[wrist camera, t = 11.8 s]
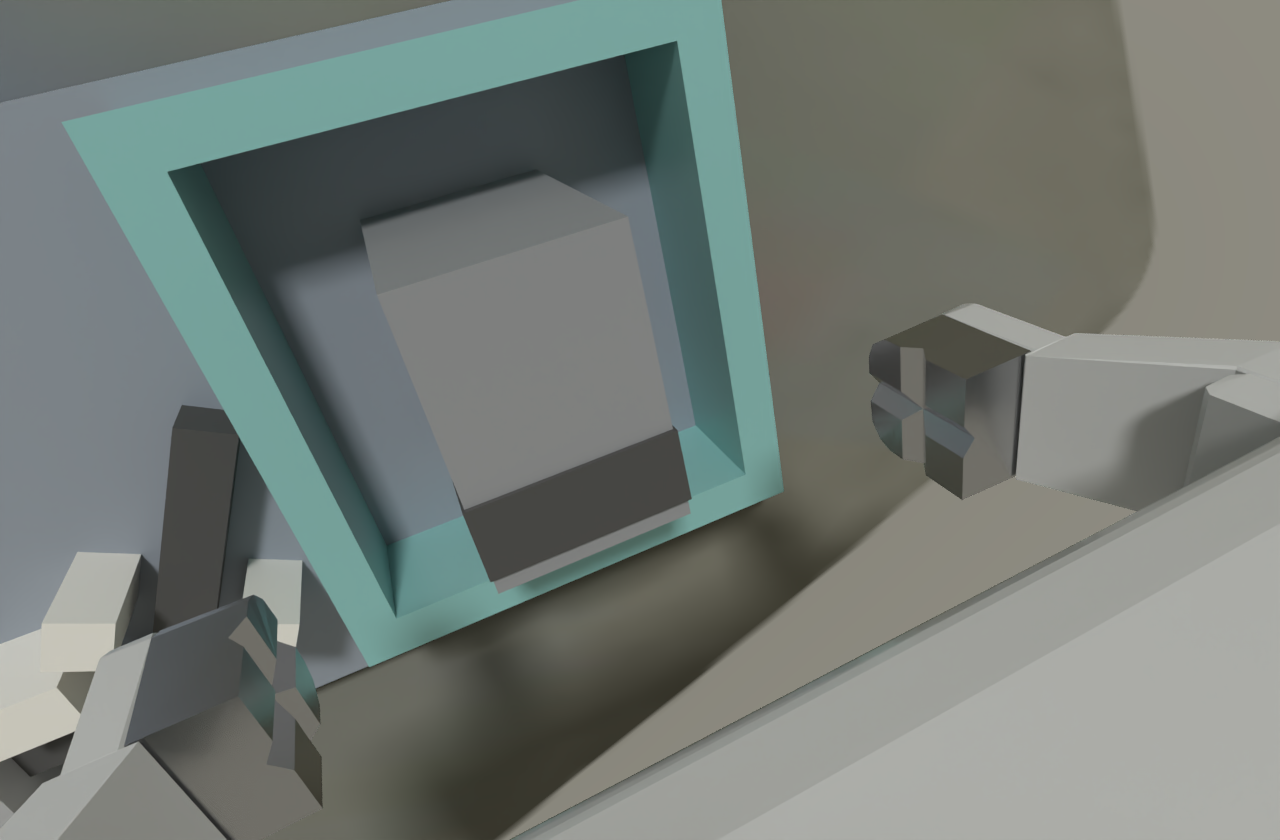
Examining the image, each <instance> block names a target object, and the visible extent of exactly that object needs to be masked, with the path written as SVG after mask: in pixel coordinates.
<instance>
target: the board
mask: <svg viewBox="0 0 1280 840" xmlns="http://www.w3.org/2000/svg"><path fill="white" fill-rule="evenodd" d="M573 1H577V0H452V1H447V2H443V3H438V4H434V5H430V6H425V7H421V8H416V9H412V10H408V11H403V12H399V13H394V14H390V15H385V16H381V17H377V18H372V19H368V20H363V21H359V22H355V23H350V24H346V25H341V26H337V27H332V28H328V29H324V30H319V31H315V32H310V33H306V34H301V35H297V36H293V37H288V38H284V39H279V40H275V41H271V42H266V43H262V44H257V45H253V46H248V47H244V48H240V49H235V50H231V51H226V52H222V53H218V54H213V55H209V56H204V57H200V58H195V59H191V60H187V61H182V62H178V63H173V64H169V65H165V66H160V67H156V68H151V69H147V70H142V71H138V72H134V73H129V74H125V75H120V76H116V77H112V78H107V79H103V80H98V81H94V82H89V83H85V84H81V85H76V86H72V87H67V88H63V89H59V90H54V91H50V92H45V93H41V94H36V95H32V96H28V97H23V98H19V99H14V100H10V101H5V102H1V103H0V828H1V827H2V826H3V825H4V824H5V823H6V822H7V821H8V820H9V819H10V818H11V817H12V816H13V814H14V813H15V812H16V811H17V810H18V809H19V808H20V807H21V806H22V805H23V804H24V803H25V802H26V801H27V799H28V798H29V797H30V796H31V795H32V794H33V793H34V792H35V791H36V790H37V789H38V788H39V787H40V785H41V784H42V783H44V782H47V781H49V780H51V779H53V778H56V777H58V776H60V774H61V771H62V768H63V765H64V763H63V764H61V765H58V766H56V767H53V768H51V769H49V770H46V771H44V772H41V773H39V774H37V775H34V776H32V777H30V776H29V775H28V774H27V773H26V772H25V771H24V770H23V769H22V768H21V767H20V766H19V765H18V764H17V763H16V762H15V761H14V760H13V759H12V758H11V757H13V756H16V755H18V754H21V753H23V752H25V751H28V750H30V749H33V748H35V747H38V746H40V745H43V744H45V743H48V742H50V741H53V740H55V739H57V738H60V737H62V736H65V735H67V734H70V733H72V732H75V730H76V727H77V724H78V721H79V718H80V715H81V712H82V709H83V706H84V703H85V700H86V697H87V694H88V691H89V688H90V685H91V682H92V679H93V677H94V674H95V671H96V668H97V665H98V662H99V660H100V658H101V657H103V656H104V655H105V654H107V653H108V652H109V651H111V650H113V649H116V648H118V647H120V646H123V645H125V644H128V643H130V642H132V641H135V640H137V639H140V638H142V637H144V636H147V635H149V634H152V633H153V624H154V614H155V603H156V593H157V582H158V572H159V561H160V551H161V541H162V530H163V520H164V509H165V499H166V488H167V478H168V467H169V457H170V446H171V436H172V427H173V425H174V423H175V420H176V418H177V415H178V413H179V410H180V408H181V406H182V405H187V406H196V407H204V408H213V409H221V410H224V409H223V407H222V406H221V404H220V402H219V400H218V399H217V397H216V395H215V393H214V391H213V390H212V388H211V386H210V384H209V383H208V381H207V379H206V377H205V376H204V374H203V372H202V370H201V368H200V367H199V365H198V363H197V361H196V360H195V358H194V356H193V354H192V353H191V351H190V349H189V347H188V345H187V344H186V342H185V340H184V338H183V337H182V335H181V333H180V331H179V330H178V328H177V326H176V324H175V322H174V321H173V319H172V317H171V315H170V314H169V312H168V310H167V308H166V306H165V305H164V303H163V301H162V299H161V298H160V296H159V294H158V292H157V291H156V289H155V287H154V285H153V283H152V282H151V280H150V278H149V276H148V275H147V273H146V271H145V269H144V268H143V266H142V264H141V262H140V260H139V259H138V257H137V255H136V253H135V252H134V250H133V248H132V246H131V245H130V243H129V241H128V239H127V237H126V236H125V234H124V232H123V230H122V229H121V227H120V225H119V223H118V222H117V220H116V218H115V216H114V214H113V213H112V211H111V209H110V207H109V206H108V204H107V202H106V200H105V199H104V197H103V195H102V193H101V191H100V190H99V188H98V186H97V184H96V183H95V181H94V179H93V177H92V176H91V174H90V172H89V170H88V168H87V167H86V165H85V163H84V161H83V160H82V158H81V156H80V154H79V152H78V151H77V149H76V147H75V145H74V144H73V142H72V140H71V138H70V137H69V135H68V133H67V131H66V129H65V128H64V126H63V124H62V122H64V121H68V120H72V119H76V118H81V117H85V116H89V115H93V114H98V113H102V112H106V111H110V110H115V109H119V108H123V107H127V106H132V105H136V104H140V103H144V102H149V101H153V100H157V99H161V98H166V97H170V96H174V95H178V94H183V93H187V92H191V91H195V90H200V89H204V88H208V87H212V86H217V85H221V84H225V83H229V82H234V81H238V80H242V79H246V78H250V77H255V76H259V75H263V74H267V73H272V72H276V71H280V70H284V69H289V68H293V67H297V66H301V65H306V64H310V63H314V62H318V61H323V60H327V59H331V58H335V57H340V56H344V55H348V54H352V53H357V52H361V51H365V50H369V49H374V48H378V47H382V46H386V45H391V44H395V43H399V42H403V41H408V40H412V39H416V38H420V37H425V36H429V35H433V34H437V33H441V32H446V31H450V30H454V29H458V28H463V27H467V26H471V25H475V24H480V23H484V22H488V21H492V20H497V19H501V18H505V17H509V16H514V15H518V14H522V13H526V12H531V11H535V10H539V9H543V8H548V7H552V6H556V5H560V4H565V3H569V2H573ZM200 164H201V166H202V168H203V170H204V172H205V174H206V176H207V178H208V180H209V182H210V184H211V187H212V189H213V191H214V193H215V195H216V197H217V199H218V201H219V203H220V205H221V207H222V209H223V211H224V213H225V215H226V217H227V219H228V221H229V223H230V225H231V227H232V230H233V232H234V234H235V236H236V238H237V240H238V242H239V244H240V246H241V248H242V250H243V252H244V254H245V256H246V258H247V260H248V262H249V264H250V266H251V268H252V271H253V273H254V275H255V277H256V279H257V281H258V283H259V285H260V287H261V289H262V291H263V293H264V295H265V297H266V299H267V301H268V303H269V305H270V307H271V309H272V311H273V314H274V316H275V318H276V320H277V322H278V324H279V326H280V328H281V330H282V332H283V334H284V336H285V338H286V340H287V342H288V344H289V346H290V348H291V350H292V352H293V355H294V357H295V359H296V361H297V363H298V365H299V367H300V369H301V371H302V373H303V375H304V377H305V379H306V381H307V383H308V385H309V387H310V389H311V391H312V393H313V396H314V398H315V400H316V402H317V404H318V406H319V408H320V410H321V412H322V414H323V416H324V418H325V420H326V422H327V424H328V426H329V428H330V430H331V432H332V434H333V436H334V439H335V441H336V443H337V445H338V447H339V449H340V451H341V453H342V455H343V457H344V459H345V461H346V463H347V465H348V467H349V469H350V471H351V473H352V475H353V477H354V480H355V482H356V484H357V486H358V488H359V490H360V492H361V494H362V496H363V498H364V500H365V502H366V504H367V506H368V508H369V510H370V512H371V514H372V516H373V518H374V520H375V523H376V525H377V527H378V529H379V531H380V533H381V535H382V537H383V539H384V541H385V543H386V545H389V544H392V543H395V542H397V541H400V540H402V539H405V538H407V537H410V536H413V535H415V534H418V533H420V532H423V531H425V530H428V529H431V528H433V527H436V526H438V525H441V524H443V523H446V522H449V521H451V520H454V519H456V518H459V517H461V516H463V514H462V511H461V508H460V504H459V501H458V498H457V495H456V491H455V488H454V485H453V482H452V478H451V476H450V473H449V471H448V469H447V466H446V464H445V461H444V459H443V456H442V454H441V451H440V449H439V446H438V444H437V442H436V439H435V437H434V434H433V432H432V429H431V427H430V424H429V422H428V419H427V417H426V414H425V412H424V410H423V407H422V405H421V402H420V400H419V397H418V395H417V392H416V390H415V387H414V385H413V382H412V380H411V378H410V375H409V373H408V370H407V368H406V365H405V363H404V360H403V358H402V355H401V353H400V351H399V348H398V346H397V343H396V341H395V338H394V336H393V333H392V331H391V328H390V326H389V323H388V321H387V319H386V316H385V314H384V311H383V309H382V306H381V304H380V301H379V299H378V296H377V293H376V289H375V284H374V280H373V276H372V271H371V267H370V262H369V258H368V254H367V249H366V245H365V241H364V236H363V232H362V227H361V223H360V220H362V219H365V218H369V217H372V216H376V215H379V214H383V213H386V212H390V211H393V210H397V209H400V208H404V207H407V206H411V205H414V204H418V203H421V202H425V201H428V200H431V199H435V198H438V197H442V196H445V195H449V194H452V193H456V192H459V191H463V190H466V189H470V188H473V187H477V186H480V185H484V184H487V183H491V182H494V181H498V180H501V179H505V178H508V177H512V176H515V175H518V174H522V173H525V172H529V171H532V170H538V171H540V172H542V173H544V174H546V175H548V176H550V177H552V178H554V179H556V180H558V181H560V182H561V183H563V184H565V185H567V186H569V187H571V188H573V189H575V190H577V191H579V192H581V193H583V194H585V195H587V196H589V197H591V198H593V199H595V200H597V201H599V202H601V203H602V204H604V205H606V206H608V207H610V208H612V209H614V210H616V211H618V212H620V213H622V214H624V215H626V216H628V219H629V223H630V228H631V233H632V237H633V242H634V247H635V252H636V256H637V261H638V266H639V271H640V275H641V280H642V285H643V290H644V294H645V299H646V304H647V308H648V313H649V318H650V323H651V327H652V332H653V337H654V342H655V346H656V351H657V356H658V360H659V365H660V370H661V375H662V379H663V384H664V389H665V394H666V398H667V403H668V408H669V413H670V417H671V422H672V425H673V426H674V427H675V428H676V429H677V430H678V432H680V431H682V430H685V429H688V428H690V427H693V426H695V420H694V415H693V409H692V404H691V399H690V394H689V389H688V383H687V378H686V373H685V368H684V363H683V357H682V352H681V347H680V342H679V337H678V331H677V326H676V321H675V316H674V310H673V305H672V300H671V295H670V290H669V284H668V279H667V274H666V269H665V264H664V258H663V253H662V248H661V243H660V238H659V232H658V227H657V222H656V217H655V212H654V206H653V201H652V196H651V191H650V185H649V180H648V175H647V170H646V165H645V159H644V154H643V149H642V144H641V139H640V133H639V128H638V123H637V118H636V113H635V107H634V102H633V97H632V92H631V86H630V81H629V76H628V71H627V66H626V60H625V55H624V54H623V55H619V56H616V57H612V58H608V59H604V60H600V61H596V62H592V63H588V64H584V65H581V66H577V67H573V68H569V69H565V70H561V71H557V72H553V73H549V74H546V75H542V76H538V77H534V78H530V79H526V80H522V81H518V82H514V83H511V84H507V85H503V86H499V87H495V88H491V89H487V90H483V91H479V92H476V93H472V94H468V95H464V96H460V97H456V98H452V99H448V100H444V101H441V102H437V103H433V104H429V105H425V106H421V107H417V108H413V109H409V110H406V111H402V112H398V113H394V114H390V115H386V116H382V117H378V118H374V119H371V120H367V121H363V122H359V123H355V124H351V125H347V126H343V127H339V128H336V129H332V130H328V131H324V132H320V133H316V134H312V135H308V136H304V137H300V138H297V139H293V140H289V141H285V142H281V143H277V144H273V145H269V146H265V147H262V148H258V149H254V150H250V151H246V152H242V153H238V154H234V155H230V156H227V157H223V158H219V159H215V160H211V161H207V162H203V163H200ZM251 595H256V596H258V597H260V598H262V599H263V600H264V601H265V603H266V604H267V605H268V607H269V608H270V610H271V611H272V612H273V614H274V615H275V617H276V618H277V619H278V627H277V641H279V642H282V643H285V644H288V645H291V646H294V647H296V649H297V650H298V652H299V653H300V655H301V656H302V658H303V660H304V661H305V663H306V665H307V667H308V670H309V672H310V674H311V676H312V678H313V681H314V685H315V688H318V687H320V686H322V685H325V684H327V683H330V682H332V681H334V680H337V679H339V678H341V677H344V676H346V675H348V674H351V673H353V672H356V671H358V670H360V669H363V668H365V667H367V666H368V664H367V662H366V661H365V659H364V657H363V655H362V653H361V652H360V650H359V648H358V646H357V645H356V643H355V641H354V639H353V637H352V636H351V634H350V632H349V630H348V629H347V627H346V625H345V623H344V622H343V620H342V618H341V616H340V614H339V613H338V611H337V609H336V607H335V606H334V604H333V602H332V600H331V599H330V597H329V595H328V593H327V591H326V590H325V588H324V586H323V584H322V583H321V581H320V579H319V577H318V576H317V574H316V572H315V570H314V568H313V567H312V565H311V563H310V561H309V560H308V558H307V556H306V554H305V553H304V551H303V549H302V547H301V545H300V544H299V542H298V540H297V538H296V537H295V535H294V533H293V531H292V530H291V528H290V526H289V524H288V522H287V521H286V519H285V517H284V515H283V514H282V512H281V510H280V508H279V507H278V505H277V503H276V501H275V499H274V498H273V496H272V494H271V492H270V491H269V489H268V487H267V485H266V483H265V482H264V480H263V478H262V476H261V475H260V473H259V471H258V469H257V468H256V466H255V464H254V462H253V460H252V459H251V457H250V455H249V453H248V452H247V450H246V448H245V446H244V445H243V443H242V441H241V439H240V447H239V455H238V463H237V470H236V478H235V486H234V494H233V501H232V509H231V517H230V525H229V532H228V540H227V548H226V556H225V563H224V571H223V579H222V587H221V594H220V602H219V608H220V607H223V606H225V605H228V604H230V603H233V602H236V601H238V600H241V599H243V598H246V597H249V596H251Z"/></svg>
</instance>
